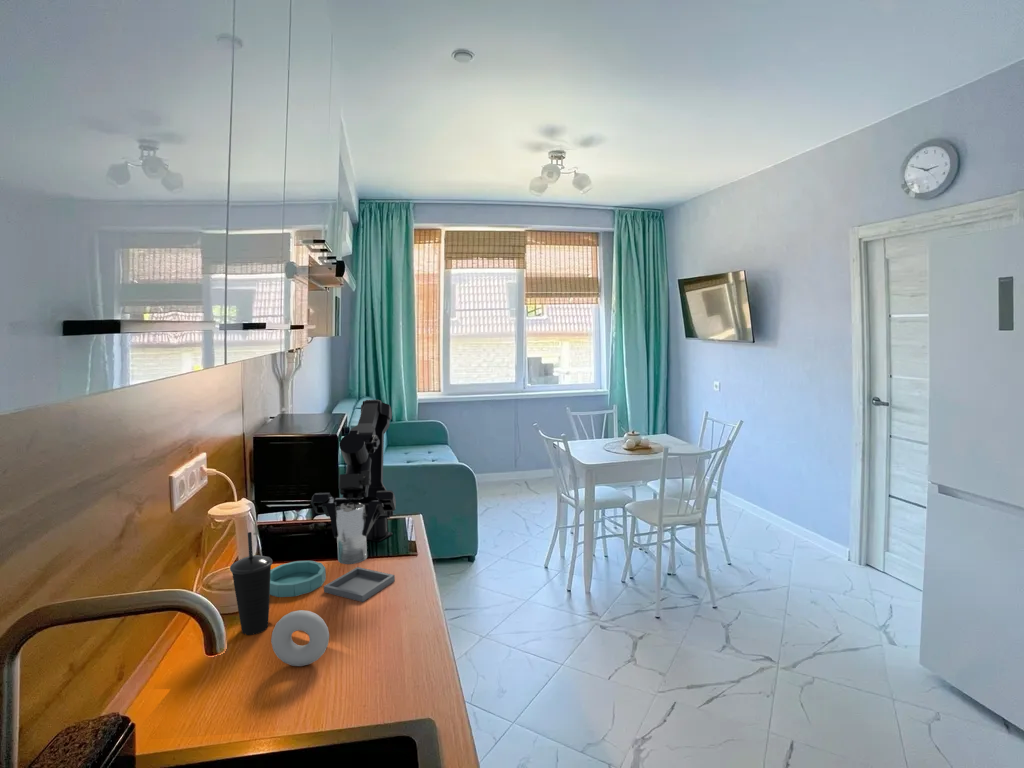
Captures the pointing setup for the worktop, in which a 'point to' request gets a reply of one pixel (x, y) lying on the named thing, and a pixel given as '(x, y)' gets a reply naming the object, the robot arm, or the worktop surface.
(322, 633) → the donut
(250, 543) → the drinking cup
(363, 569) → the parts tray
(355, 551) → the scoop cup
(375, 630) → the worktop surface
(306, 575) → the bowl
